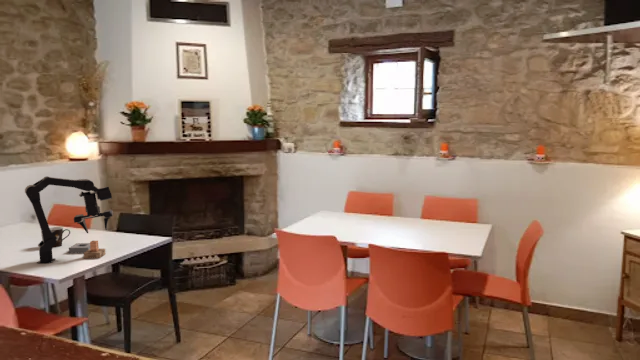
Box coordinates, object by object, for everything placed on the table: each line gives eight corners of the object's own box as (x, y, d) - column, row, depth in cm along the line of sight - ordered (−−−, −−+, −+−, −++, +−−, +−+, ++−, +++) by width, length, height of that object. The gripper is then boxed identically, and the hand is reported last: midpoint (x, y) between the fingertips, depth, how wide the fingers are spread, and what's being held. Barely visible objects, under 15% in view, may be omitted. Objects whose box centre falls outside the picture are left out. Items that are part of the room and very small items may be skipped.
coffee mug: (44, 248, 283) (43, 230, 282) (49, 244, 292) (48, 227, 291) (67, 247, 286) (66, 229, 284) (71, 243, 294) (70, 226, 293)
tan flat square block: (100, 258, 263) (99, 252, 263) (84, 258, 263) (83, 252, 262) (105, 254, 271) (105, 248, 271) (90, 254, 271) (89, 248, 270)
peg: (96, 257, 265) (95, 242, 264) (90, 257, 265) (90, 242, 264) (99, 255, 268) (98, 240, 267) (93, 255, 268) (92, 240, 267)
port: (88, 252, 273) (88, 247, 273) (69, 253, 273) (68, 247, 272) (95, 248, 283) (95, 242, 283) (76, 248, 283) (76, 243, 282)
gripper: (111, 197, 276) (117, 224, 280) (75, 202, 272) (81, 230, 275) (109, 201, 266) (114, 229, 269) (70, 207, 262) (77, 236, 265)
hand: (97, 231), depth 270 cm, fingers open, 9 cm apart
